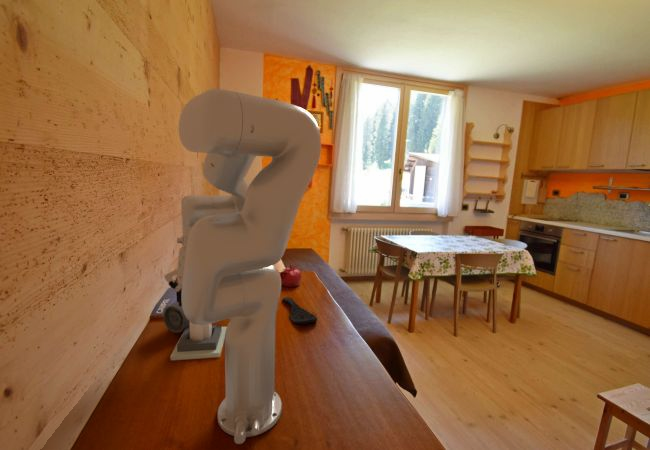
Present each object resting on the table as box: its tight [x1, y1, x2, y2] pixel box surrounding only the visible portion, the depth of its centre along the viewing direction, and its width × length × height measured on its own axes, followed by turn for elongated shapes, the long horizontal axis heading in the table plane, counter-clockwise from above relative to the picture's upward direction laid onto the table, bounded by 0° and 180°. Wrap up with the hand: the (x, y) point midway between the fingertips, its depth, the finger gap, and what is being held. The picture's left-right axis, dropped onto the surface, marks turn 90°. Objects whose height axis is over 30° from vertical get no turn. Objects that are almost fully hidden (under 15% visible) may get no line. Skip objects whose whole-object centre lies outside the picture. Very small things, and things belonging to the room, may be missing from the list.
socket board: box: [169, 324, 227, 361], centre depth 84 cm, size 14×12×3 cm
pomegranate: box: [279, 263, 302, 288], centre depth 133 cm, size 10×10×9 cm
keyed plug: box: [189, 321, 213, 341], centre depth 84 cm, size 5×5×7 cm
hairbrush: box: [282, 296, 318, 325], centre depth 107 cm, size 8×4×25 cm
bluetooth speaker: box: [163, 301, 190, 333], centre depth 97 cm, size 23×9×10 cm, turn 159°
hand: (200, 303), depth 82 cm, fingers open, 9 cm apart
